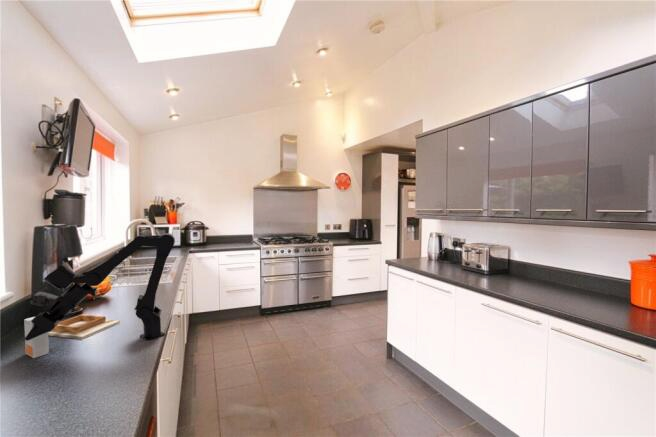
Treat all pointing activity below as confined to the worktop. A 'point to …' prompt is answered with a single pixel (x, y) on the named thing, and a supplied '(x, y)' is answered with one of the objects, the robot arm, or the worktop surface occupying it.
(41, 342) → the skincare box
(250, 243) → the worktop surface
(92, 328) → the socket stand
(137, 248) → the robot arm
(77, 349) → the worktop surface
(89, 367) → the worktop surface
